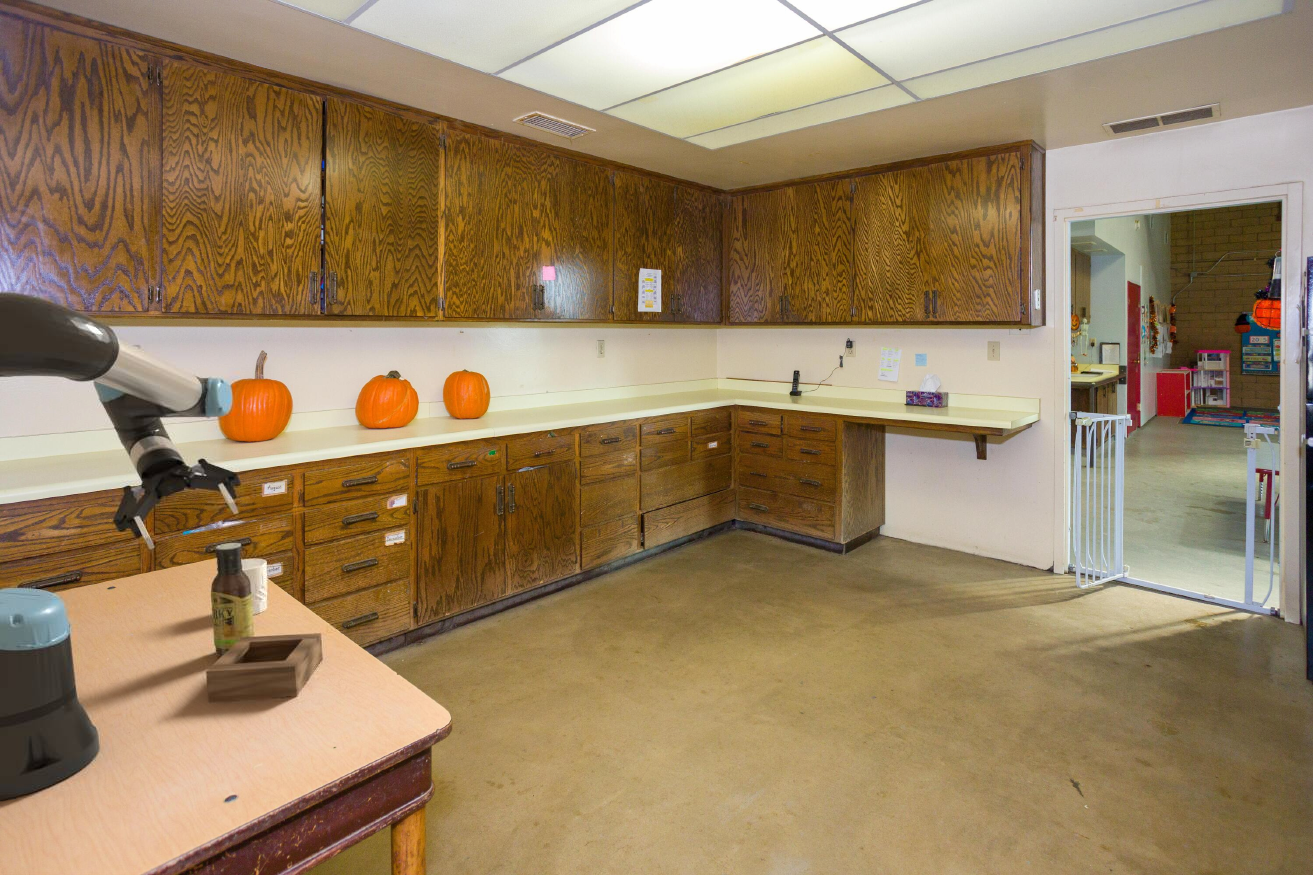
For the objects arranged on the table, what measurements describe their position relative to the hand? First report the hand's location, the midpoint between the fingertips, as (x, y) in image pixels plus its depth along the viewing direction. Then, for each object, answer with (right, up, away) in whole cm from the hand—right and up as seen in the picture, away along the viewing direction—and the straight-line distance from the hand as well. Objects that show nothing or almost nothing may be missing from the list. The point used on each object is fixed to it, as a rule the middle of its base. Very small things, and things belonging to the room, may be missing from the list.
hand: (193, 525), depth 128 cm
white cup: (-3, -21, +23) cm, 31 cm away
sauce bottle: (+6, -24, +4) cm, 24 cm away
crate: (+17, -25, -7) cm, 31 cm away
